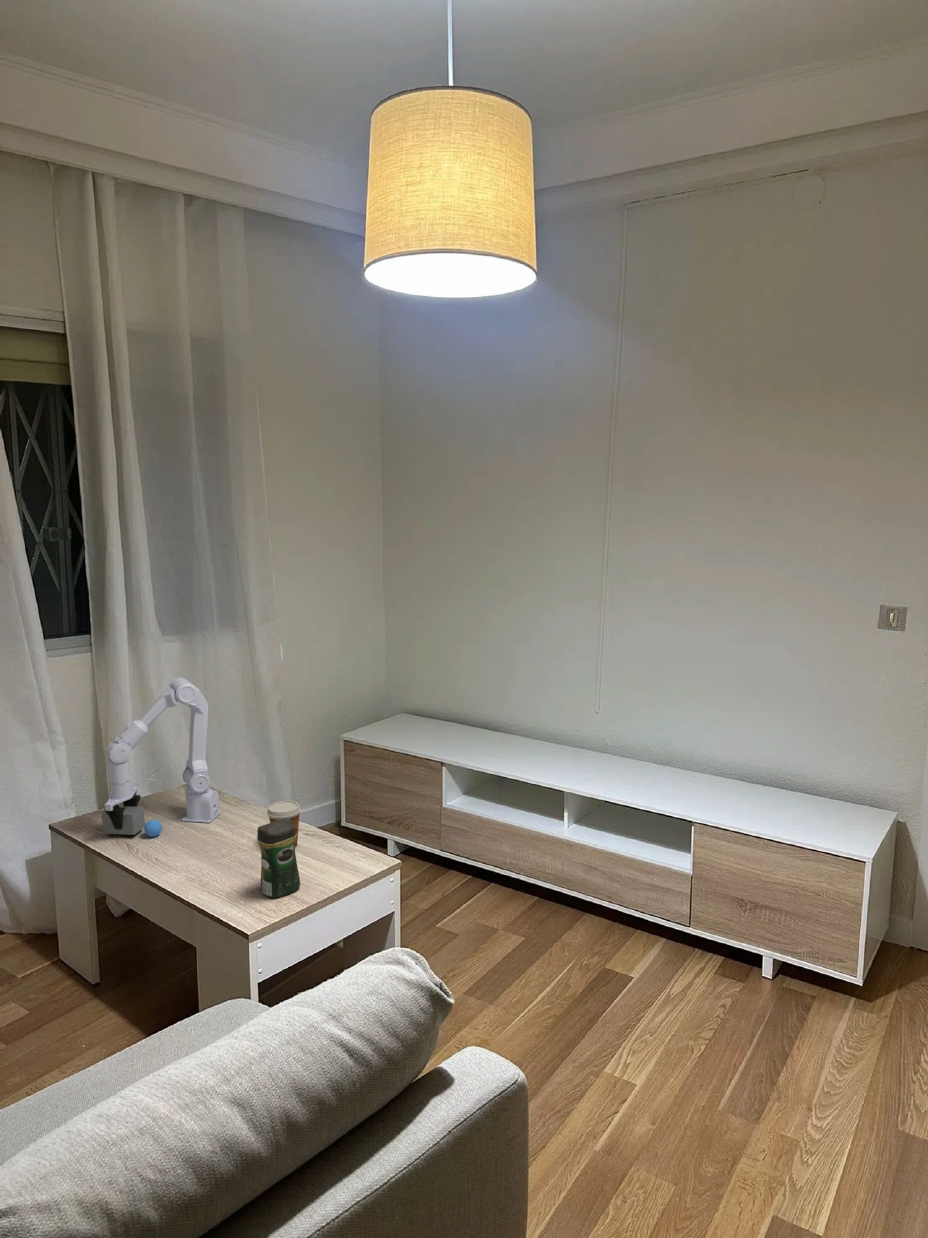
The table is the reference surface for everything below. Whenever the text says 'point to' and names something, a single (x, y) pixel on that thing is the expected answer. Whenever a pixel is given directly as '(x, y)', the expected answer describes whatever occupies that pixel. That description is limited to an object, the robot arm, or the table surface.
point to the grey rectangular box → (125, 821)
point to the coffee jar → (278, 858)
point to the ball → (153, 828)
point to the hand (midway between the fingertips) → (124, 824)
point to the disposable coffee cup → (285, 813)
